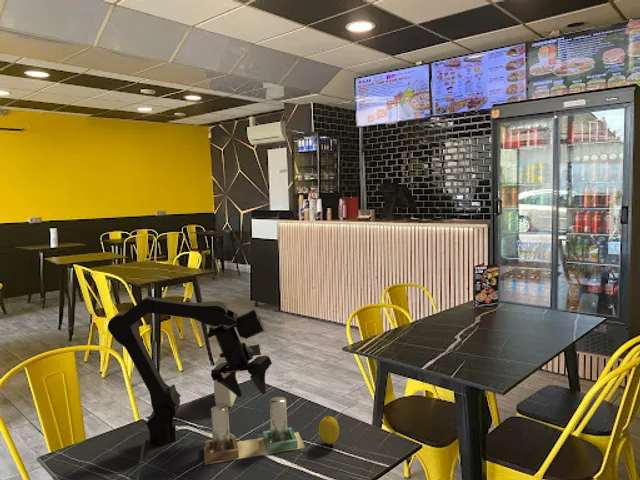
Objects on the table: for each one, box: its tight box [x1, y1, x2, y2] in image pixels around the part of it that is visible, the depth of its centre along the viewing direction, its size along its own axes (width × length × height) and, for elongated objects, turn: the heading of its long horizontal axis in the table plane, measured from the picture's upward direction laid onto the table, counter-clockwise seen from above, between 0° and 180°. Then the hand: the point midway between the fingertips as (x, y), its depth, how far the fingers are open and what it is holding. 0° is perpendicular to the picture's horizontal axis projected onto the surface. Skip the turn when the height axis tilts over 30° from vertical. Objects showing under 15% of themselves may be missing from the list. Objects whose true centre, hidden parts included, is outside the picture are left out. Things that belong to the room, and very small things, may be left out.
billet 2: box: [269, 396, 288, 443], centre depth 134 cm, size 4×4×12 cm
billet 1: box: [210, 405, 231, 452], centre depth 130 cm, size 4×4×12 cm
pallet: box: [203, 426, 307, 465], centre depth 133 cm, size 26×9×3 cm, turn 105°
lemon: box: [318, 415, 340, 445], centre depth 135 cm, size 6×6×8 cm
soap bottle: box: [213, 350, 239, 408], centre depth 166 cm, size 16×5×20 cm, turn 179°
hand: (252, 395), depth 140 cm, fingers open, 9 cm apart
